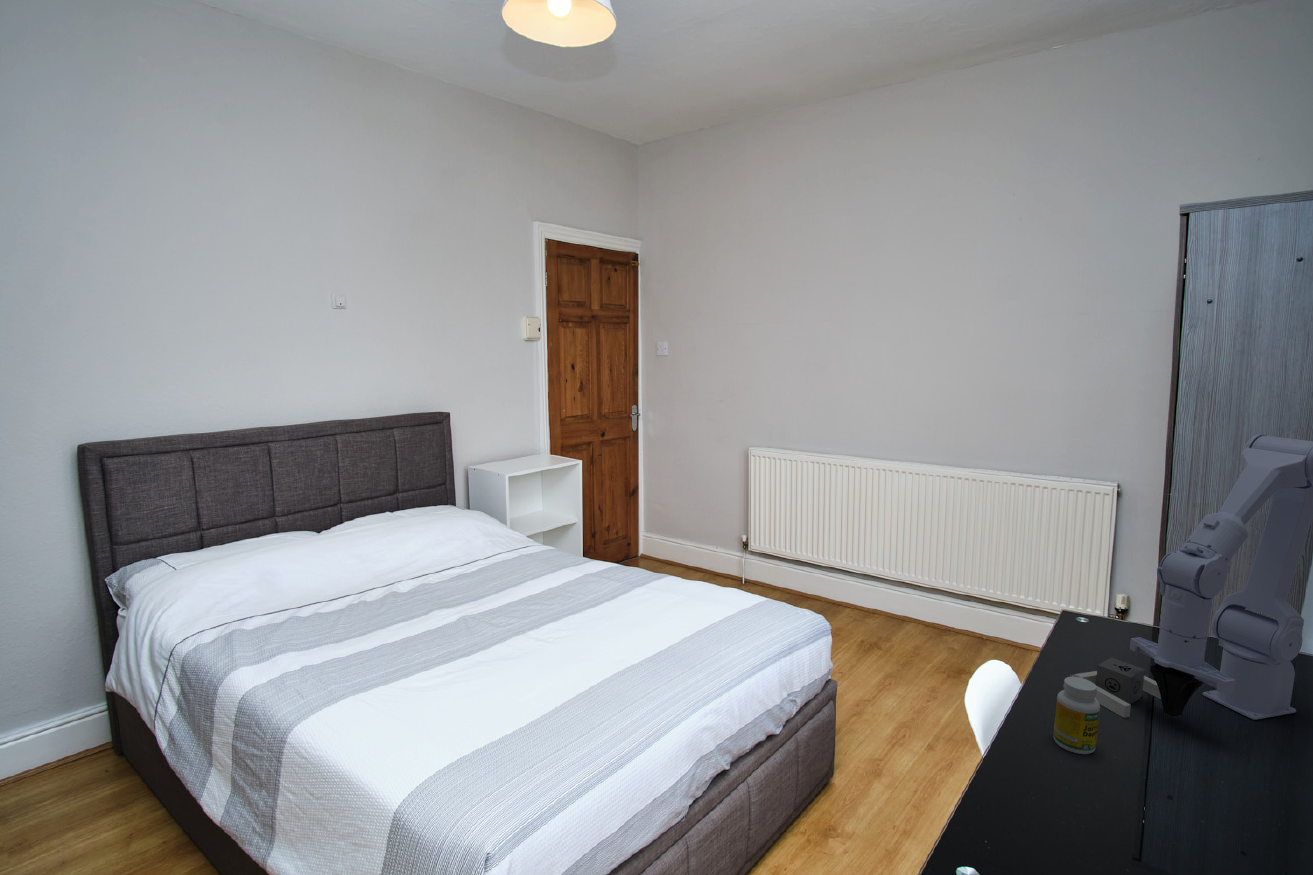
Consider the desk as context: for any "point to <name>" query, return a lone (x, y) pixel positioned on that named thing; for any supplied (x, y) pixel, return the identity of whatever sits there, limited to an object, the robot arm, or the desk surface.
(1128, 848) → the desk surface
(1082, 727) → the supplement bottle
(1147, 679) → the grey angular bar shape
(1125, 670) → the dice cube
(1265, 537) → the robot arm
